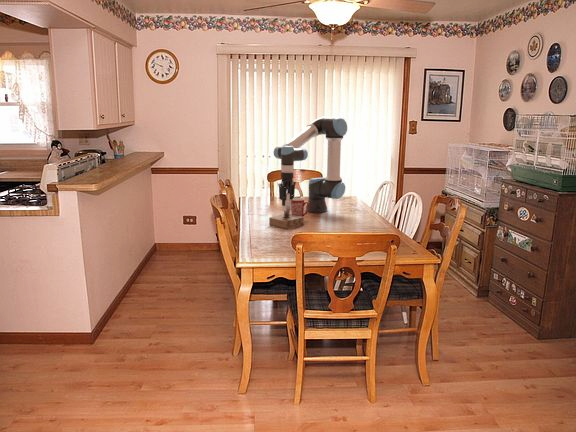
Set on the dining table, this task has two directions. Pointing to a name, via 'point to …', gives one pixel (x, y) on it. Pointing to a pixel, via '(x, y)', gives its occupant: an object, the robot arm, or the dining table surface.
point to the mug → (298, 207)
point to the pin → (287, 213)
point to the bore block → (286, 221)
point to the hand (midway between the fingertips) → (286, 210)
